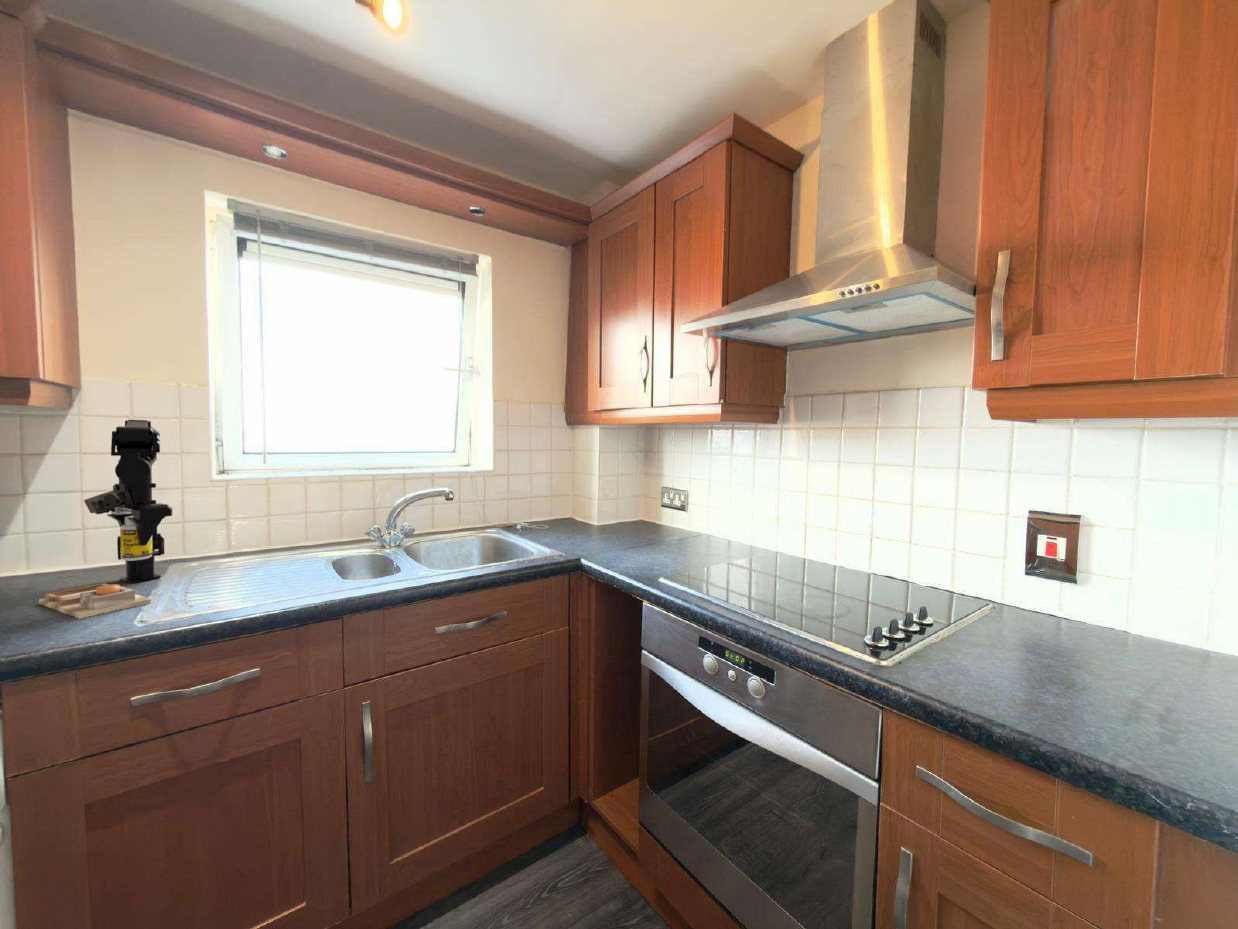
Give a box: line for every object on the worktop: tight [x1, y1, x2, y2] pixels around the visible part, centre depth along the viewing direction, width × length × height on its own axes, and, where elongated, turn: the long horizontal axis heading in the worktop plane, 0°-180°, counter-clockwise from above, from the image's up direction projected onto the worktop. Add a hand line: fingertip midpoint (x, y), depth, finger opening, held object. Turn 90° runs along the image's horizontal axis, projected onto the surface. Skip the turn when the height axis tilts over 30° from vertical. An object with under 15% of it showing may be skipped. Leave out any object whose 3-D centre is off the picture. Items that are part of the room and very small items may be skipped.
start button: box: [96, 583, 121, 596], centre depth 114 cm, size 4×4×2 cm
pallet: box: [38, 582, 152, 620], centre depth 117 cm, size 20×12×4 cm, turn 65°
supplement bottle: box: [119, 516, 152, 562], centre depth 122 cm, size 6×6×10 cm
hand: (136, 544), depth 122 cm, fingers closed on supplement bottle, 5 cm apart
